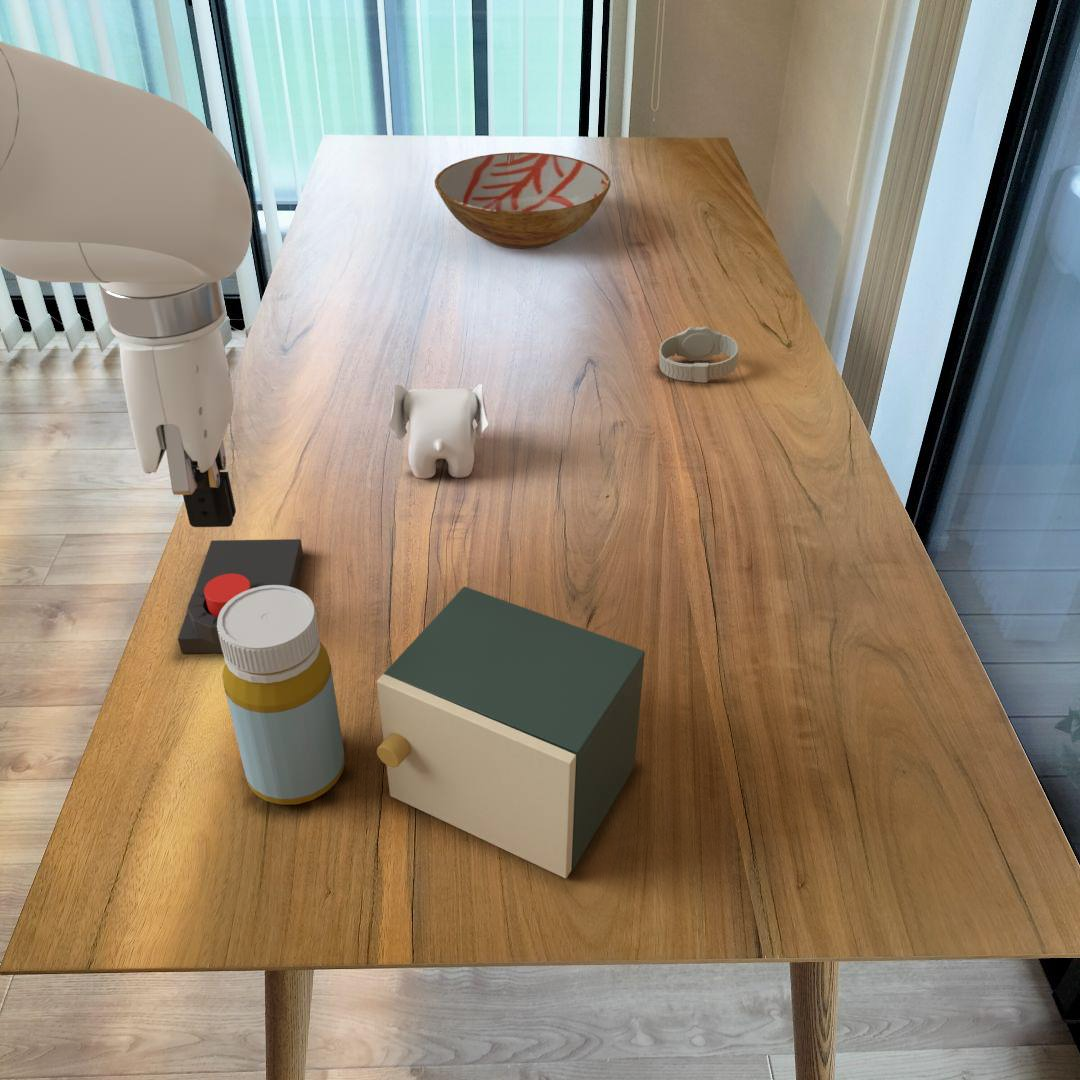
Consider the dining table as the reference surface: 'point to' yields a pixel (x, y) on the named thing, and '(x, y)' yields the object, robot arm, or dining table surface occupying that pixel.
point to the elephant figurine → (439, 427)
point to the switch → (245, 558)
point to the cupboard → (538, 689)
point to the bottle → (280, 694)
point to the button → (224, 591)
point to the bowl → (522, 196)
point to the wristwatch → (698, 354)
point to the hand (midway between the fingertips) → (213, 520)
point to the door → (478, 774)
